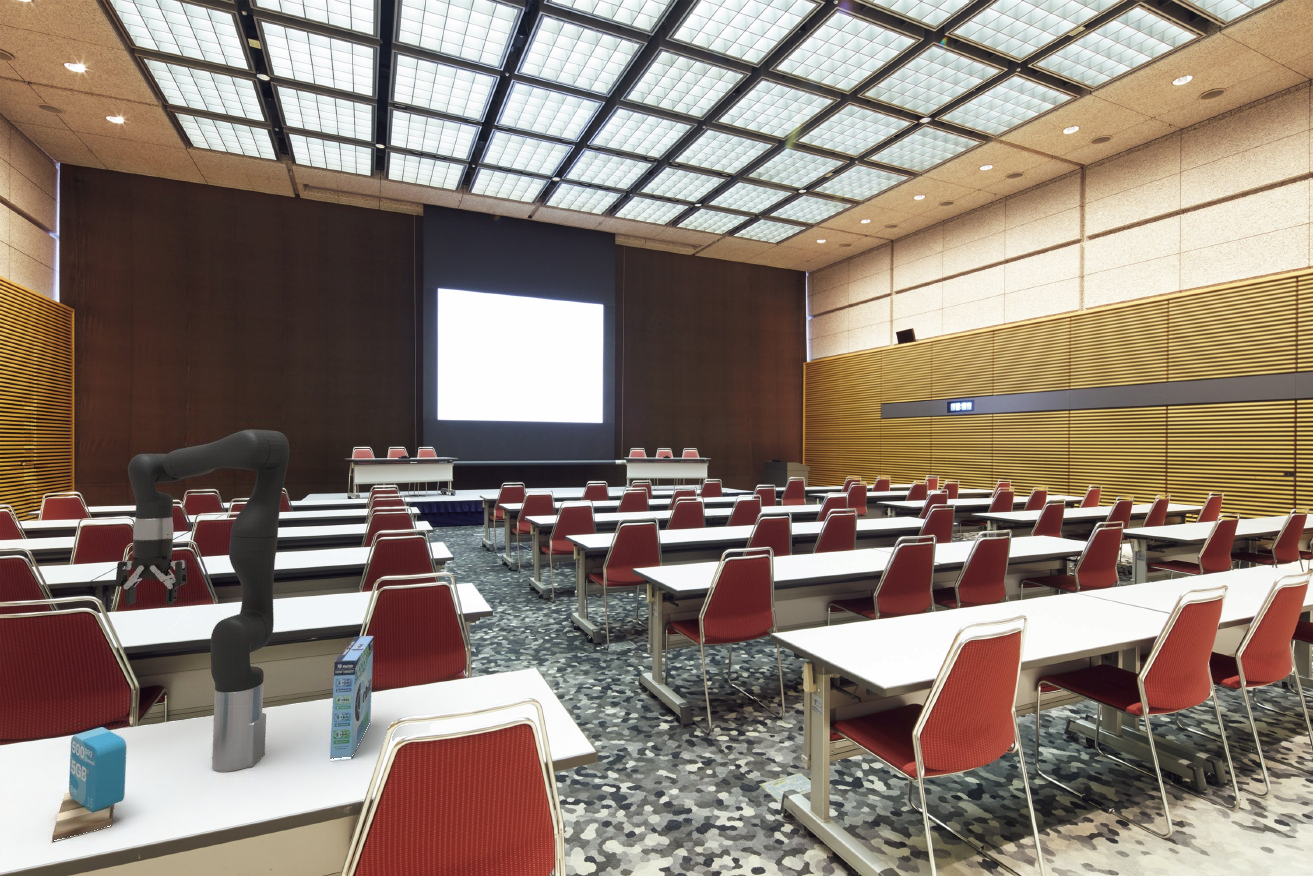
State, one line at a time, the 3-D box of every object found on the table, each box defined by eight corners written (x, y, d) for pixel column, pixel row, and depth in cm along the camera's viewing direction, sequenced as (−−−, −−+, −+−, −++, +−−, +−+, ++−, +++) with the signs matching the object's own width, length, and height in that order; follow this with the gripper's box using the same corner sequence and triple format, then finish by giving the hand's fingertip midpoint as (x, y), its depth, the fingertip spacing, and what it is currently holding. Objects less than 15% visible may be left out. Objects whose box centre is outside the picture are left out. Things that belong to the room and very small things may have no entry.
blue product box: (350, 725, 162) (353, 636, 163) (372, 724, 163) (374, 635, 164) (329, 762, 143) (332, 660, 144) (353, 760, 144) (356, 659, 145)
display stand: (115, 796, 128) (116, 780, 128) (111, 826, 117) (112, 809, 117) (61, 809, 123) (62, 792, 123) (52, 842, 112) (52, 824, 112)
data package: (68, 796, 121) (70, 733, 122) (97, 785, 125) (100, 725, 126) (94, 814, 116) (97, 748, 116) (124, 803, 119) (127, 739, 120)
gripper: (109, 538, 147) (106, 608, 147) (176, 538, 149) (173, 607, 149) (131, 534, 154) (128, 600, 154) (194, 534, 156) (192, 600, 156)
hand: (150, 604), depth 151 cm, fingers open, 8 cm apart
